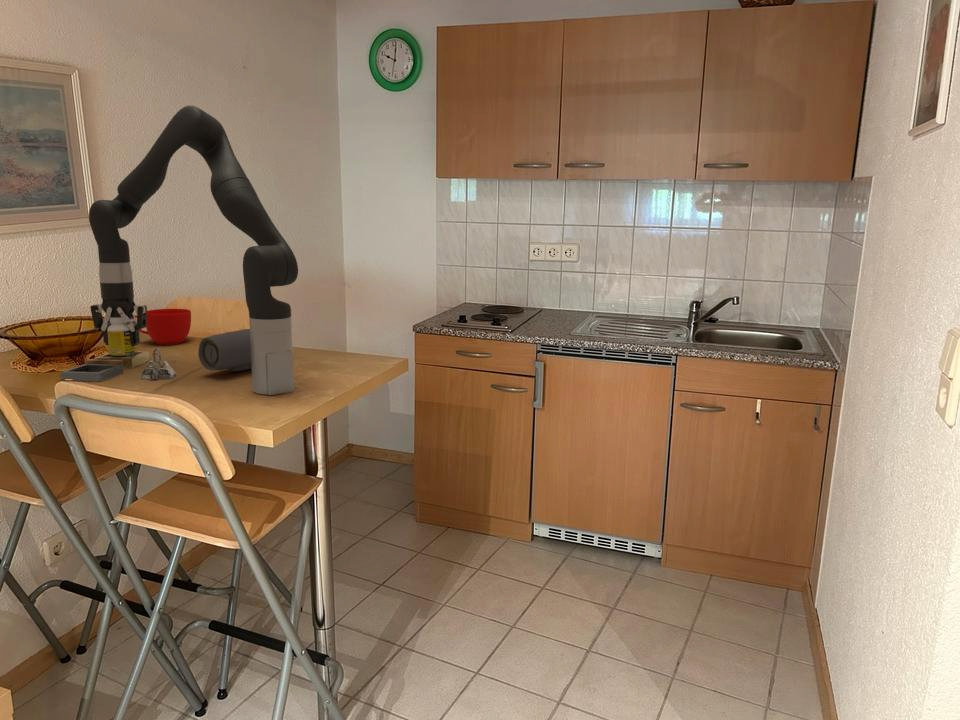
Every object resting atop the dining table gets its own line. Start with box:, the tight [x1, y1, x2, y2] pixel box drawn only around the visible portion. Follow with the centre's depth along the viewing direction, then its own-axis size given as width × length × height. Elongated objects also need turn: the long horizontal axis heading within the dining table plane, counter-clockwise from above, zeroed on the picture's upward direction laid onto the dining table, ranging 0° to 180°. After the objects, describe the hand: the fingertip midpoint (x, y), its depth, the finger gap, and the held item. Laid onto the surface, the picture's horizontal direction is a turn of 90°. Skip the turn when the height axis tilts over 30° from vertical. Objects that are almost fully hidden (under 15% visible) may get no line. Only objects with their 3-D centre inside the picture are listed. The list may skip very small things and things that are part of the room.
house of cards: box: [140, 346, 177, 386], centre depth 170 cm, size 9×9×8 cm
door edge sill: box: [83, 359, 125, 371], centre depth 180 cm, size 9×1×2 cm, turn 90°
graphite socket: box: [60, 363, 124, 383], centre depth 172 cm, size 10×10×2 cm
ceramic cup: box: [134, 308, 192, 346], centre depth 214 cm, size 13×17×10 cm
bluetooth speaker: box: [197, 328, 252, 372], centre depth 184 cm, size 23×9×10 cm, turn 148°
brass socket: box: [93, 350, 151, 369], centre depth 187 cm, size 10×10×2 cm
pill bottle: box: [107, 317, 137, 358], centre depth 186 cm, size 6×6×11 cm
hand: (121, 344), depth 186 cm, fingers closed on pill bottle, 6 cm apart
